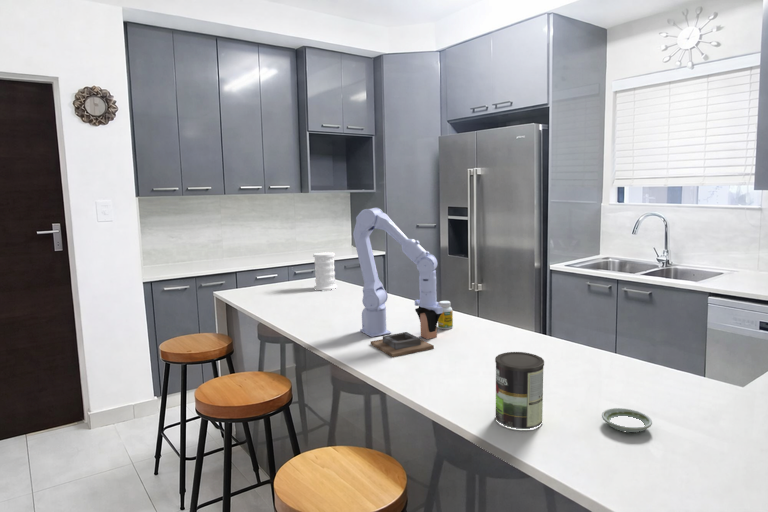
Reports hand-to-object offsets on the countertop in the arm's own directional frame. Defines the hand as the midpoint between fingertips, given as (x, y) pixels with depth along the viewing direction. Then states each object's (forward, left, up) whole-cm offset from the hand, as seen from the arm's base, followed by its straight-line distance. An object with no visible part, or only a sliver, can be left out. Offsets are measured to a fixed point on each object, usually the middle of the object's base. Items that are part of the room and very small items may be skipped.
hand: (428, 329), depth 177 cm
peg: (0, 0, -2) cm, 2 cm away
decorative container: (-98, +1, -3) cm, 98 cm away
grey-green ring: (+77, 0, -3) cm, 77 cm away
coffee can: (+63, -17, -3) cm, 65 cm away
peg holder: (+4, -13, -2) cm, 14 cm away
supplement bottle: (-6, +11, -3) cm, 13 cm away
